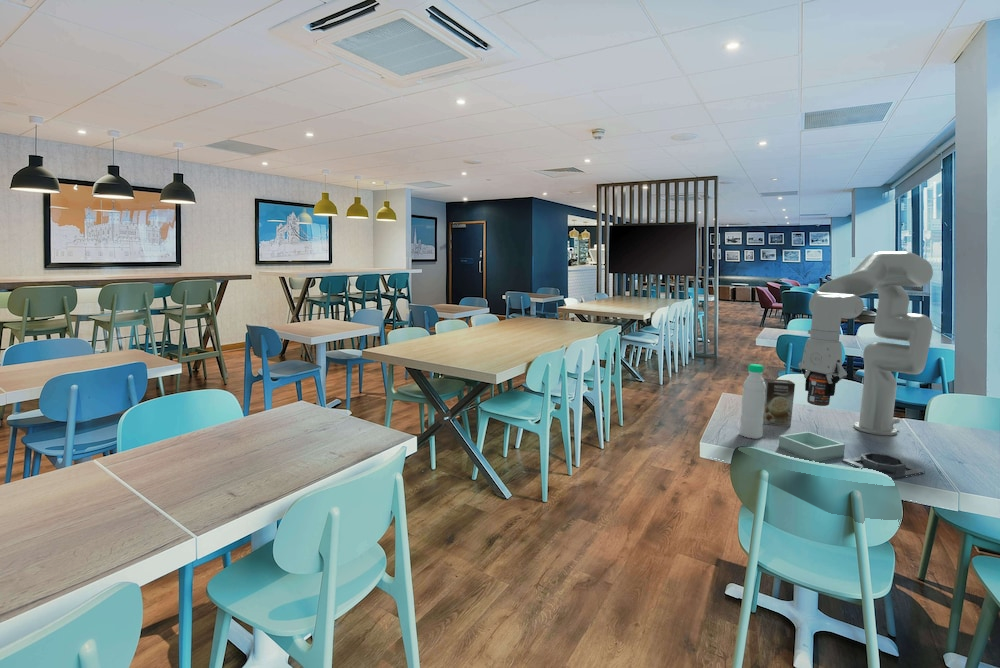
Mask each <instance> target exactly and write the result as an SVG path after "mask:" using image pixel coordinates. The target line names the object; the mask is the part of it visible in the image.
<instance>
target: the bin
mask: <svg viewBox="0 0 1000 668" xmlns="http://www.w3.org/2000/svg"><path fill="white" fill-rule="evenodd" d="M778 438H779V439H778V448H779V449H781V450H784V451H786V452H789V453H791V454H793V455H796V456H798V457H800V458H804V459H806V460H808V459H809V461H810V460H814V461H816V462H820V461H821V462H822V461H827V460H833V459H838V458H844V457H845V449H846V447H845V446H846V443H842V442H841V441H836V440H833V439H831V438H829V437H825V436H822V435H820V434H817V433H814V432H811V431H803V432H802V431H801V432H797V433H789V434H781V435H779V437H778Z"/></svg>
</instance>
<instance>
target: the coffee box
mask: <svg viewBox="0 0 1000 668" xmlns="http://www.w3.org/2000/svg"><path fill="white" fill-rule="evenodd" d="M763 379H764V382H765V385H766V390H765V406H764V414H763V425H768V424H771V426H780V425H781V426H782V427H791V426H792V418H793V407H794V397H795V389H796V384H795V383H794V382H793V381H791V380H790V379H789V380H787V379H775V378H763Z"/></svg>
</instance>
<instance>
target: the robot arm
mask: <svg viewBox="0 0 1000 668" xmlns="http://www.w3.org/2000/svg"><path fill="white" fill-rule="evenodd" d="M933 271H934V270H933V266H932V264H931V263H930V262H929V261H928V260H927V259H925V258H923V257H921V256H920V255H918V254H916V253H913V252H911V251H910V252H909V251H877V252H873V253H870V254H868V255H867V256H866V257H865V258H864V259H863V261H862V262H860V263H859V264H858V265H857V266H856V268H855V269H854V270H852V272H851V273H847V274H844V275H842V276H839V277H837V278H834V279H832V280H830V281H826V282H825V283H823V284H821V286H820V287H819V288H818V289H817V290H816V291H814V293H813V294H812V296H811V298H810V299H809V301H808V308H809V311H810V312H811V314H812V315H811V325H810V326H811V327H810V329H809V330H808V331H807V333H808V334H809V335H810V336H809V338H807V339H806V342H805V345H804V349H803V354H802V360H801V361H800V362H799V363H798V364H797V365H798V368H799V369H800V371H801V373H802V374H803V376H804V377H803V378H804V379H805V383H804V390H805V391H806V392H808V388H809V379H810V375H811V374H813V373H814V372H817V373H821V374H826V376H827V380H828V383H826V388H825V396H830V397H833V396H835V394H836V384H838V383H839V382H840V381H842V380H843V379H844V378H846V377H847V375H848V373H847V371H846V369H844V367H843V366H842V365H843V364H842V363H843V362H842V361H843V351H842V349H843V348H842V342H841V341H840V334H841V325H842V319H847V320H849V319H856V318H857V317H859V316H861V314H862V312H863V310H864V307H865V306H864V305H865V304H864V301H863V299H862V298H861V297H860V296H864V295H869V294H871V293H873V292H874V291H875V290H877V291H876V292H877V294H878V295H877V296H878V301H877V308H876V314H875V317H874V318H875V319H874V323H873V333H874V334H875V336H876V337H878V338H880V339H886V340H893V341H901V342H908V343H909V345H906V344H905V345H904V344H900V343H899V344H898V343H893V342H882V341H881V342H880V341H876V342H875V341H874V342H871V343H868V344H866V346H865V347H864V349H863V355H862V357H863V365H864V366H863V367H864V368H863V370H864V374H863V375H864V376H863V385H862V394H861V403H860V410H859V411H860V412H859V421H856V422H854V423H853V427H854V429H856V430H858V431H861V432H863V433H867V434H871V435H877V436H894V435H897V434H898V430H897V428H896V427H894V425H895V424H896V425H897V424H899V423H900V422H901V419H900V418H898V417H894V414H895V413H894V412H895V405H896V404H895V403H896V395H897V388H898V383H897V380H896V378H895V376H894V374H893V373H894V372H895V373H900V374H906V375H920V374H921V373H923V371H924V369H925V367H926V366H927V365H926V364H927V360H928V355H929V350H930V346H931V339H932V336H933V323H932V320H931V318H930V317H929V316H927V315H925V314H922V313H921V314H920V313H908V312H909V311H908V310H909V306H910V305H909V304H910V297H909V294H908V293H907V291H906V290H905V289H904V287H923V286H924V287H925V286H926V285H927V284H929V283H930V282H931V281H932V279H933V276H934V275H933V274H934V272H933ZM892 372H893V373H892Z"/></svg>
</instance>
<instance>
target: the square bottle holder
mask: <svg viewBox="0 0 1000 668" xmlns="http://www.w3.org/2000/svg"><path fill="white" fill-rule="evenodd" d="M841 462H842V463H844V462H845V463H844V464H847V463H849V464H852V465H854V466H853V467H855V468H857V467H862V468H868V469H873V470H876V471H879V472H882V473H884V474H887V475H888V476H889V477H891V478H892V479H894V480H899V479H903V478H902V477H904V478H907V477H906V476H909V477H912V476H911V475H914V476H916V475H915V474H919V473H923V472H924V473H925V471H924V470H922V469H919V468H916V467H913V466H909V464H908V465H907V464H906V463H905V462H904V460H903V459H901V458H899V457H896V456H893V455H890V454H887V453H886V454H884V453H878V452H877V453H876V452H866V453H861V454H860V456H855V457H850V458H846V459H841ZM857 462H858V463H857ZM860 462H861V463H860ZM886 463H887V464H886ZM849 464H848V465H849ZM852 465H851V466H852ZM906 469H908V470H906ZM919 475H920V474H919ZM898 478H899V479H898ZM894 480H893V481H894Z"/></svg>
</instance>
